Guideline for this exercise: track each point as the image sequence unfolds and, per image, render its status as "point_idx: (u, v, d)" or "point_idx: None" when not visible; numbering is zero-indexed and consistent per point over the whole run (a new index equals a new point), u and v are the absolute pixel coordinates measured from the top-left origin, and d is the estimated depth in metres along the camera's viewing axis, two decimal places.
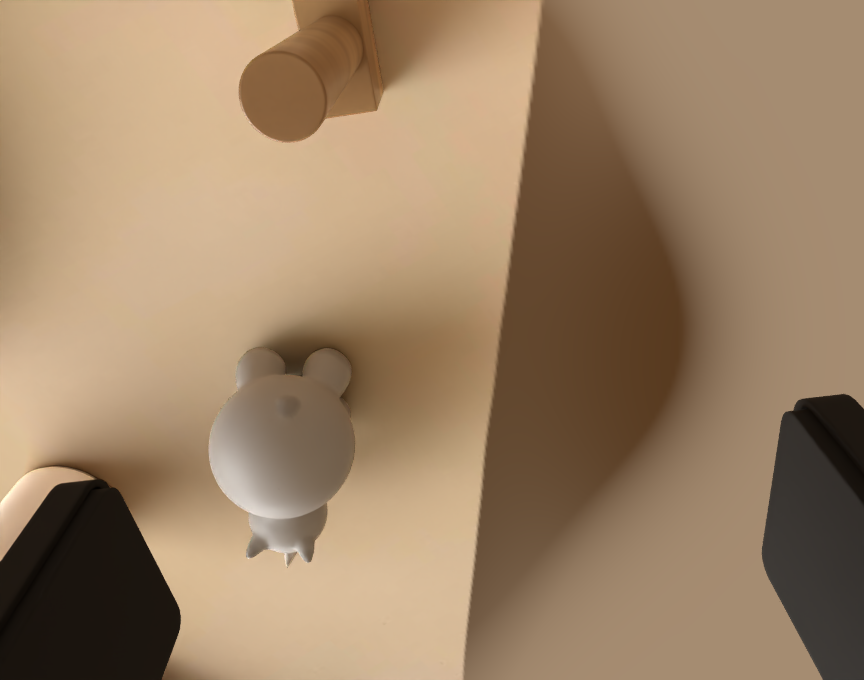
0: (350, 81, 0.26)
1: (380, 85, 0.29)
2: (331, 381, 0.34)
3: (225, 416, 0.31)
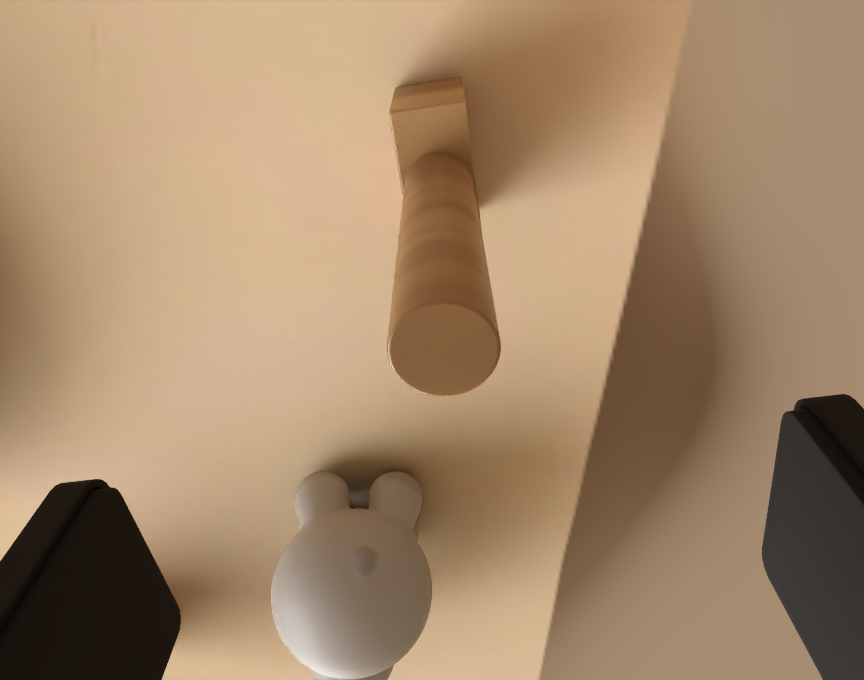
0: None
1: None
2: (404, 515, 0.31)
3: (292, 569, 0.28)
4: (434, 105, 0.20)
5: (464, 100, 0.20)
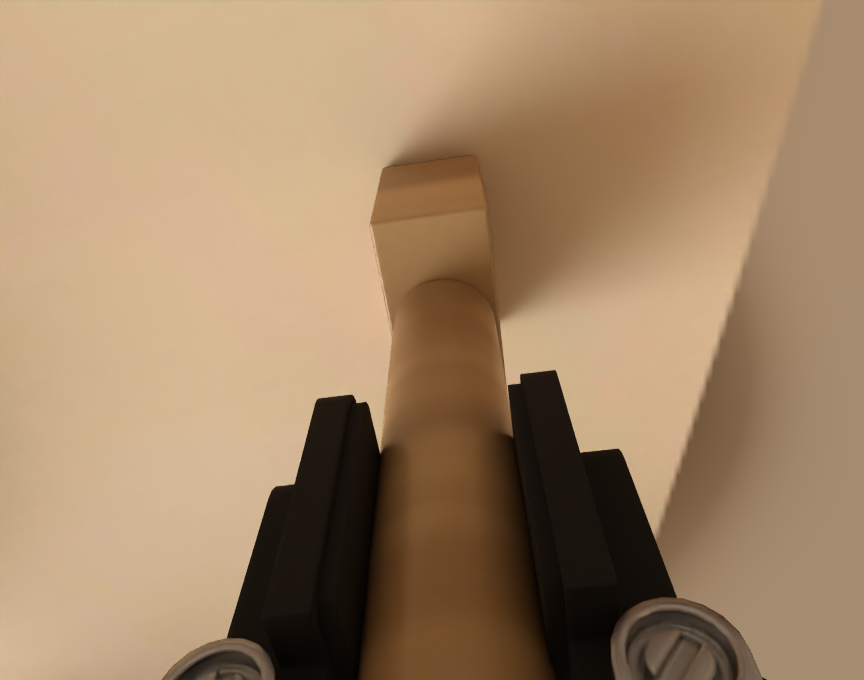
0: None
1: None
2: None
3: None
4: (438, 213, 0.13)
5: (483, 206, 0.13)
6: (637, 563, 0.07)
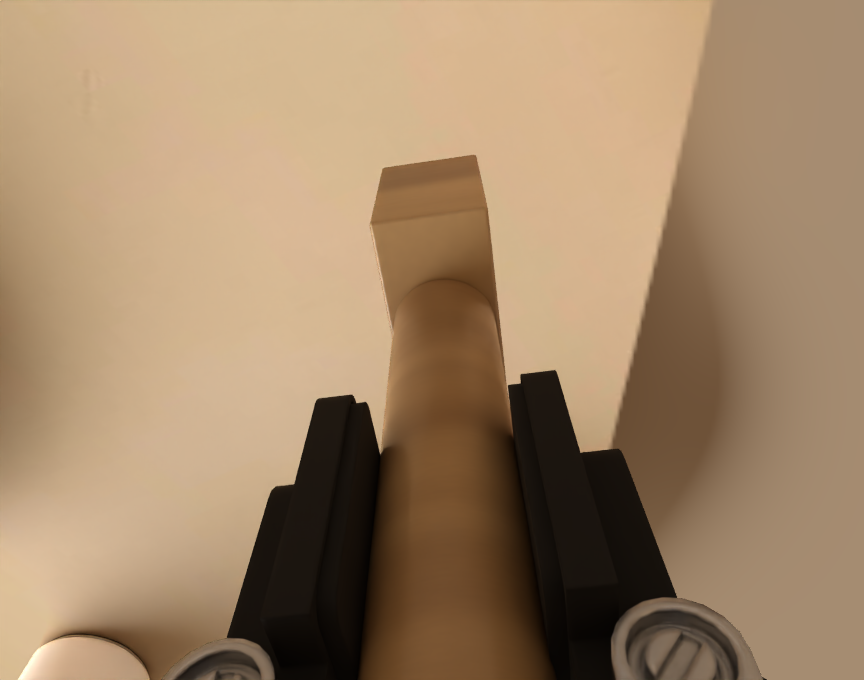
0: None
1: None
2: None
3: None
4: (438, 213, 0.13)
5: (483, 206, 0.13)
6: (637, 563, 0.07)
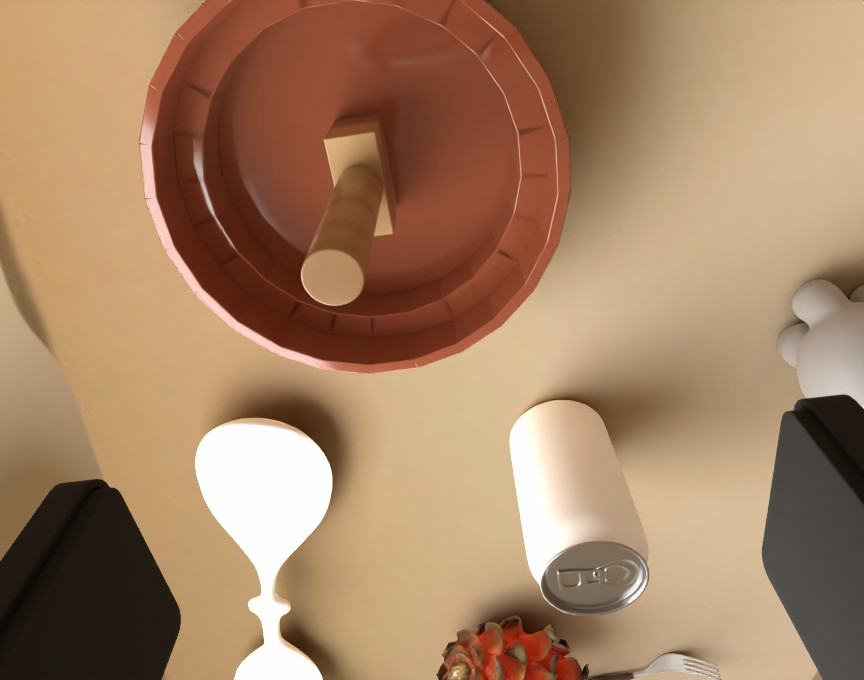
0: None
1: (395, 205, 0.35)
2: None
3: (855, 335, 0.34)
4: (354, 134, 0.30)
5: (373, 131, 0.30)
6: None
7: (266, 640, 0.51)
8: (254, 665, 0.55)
